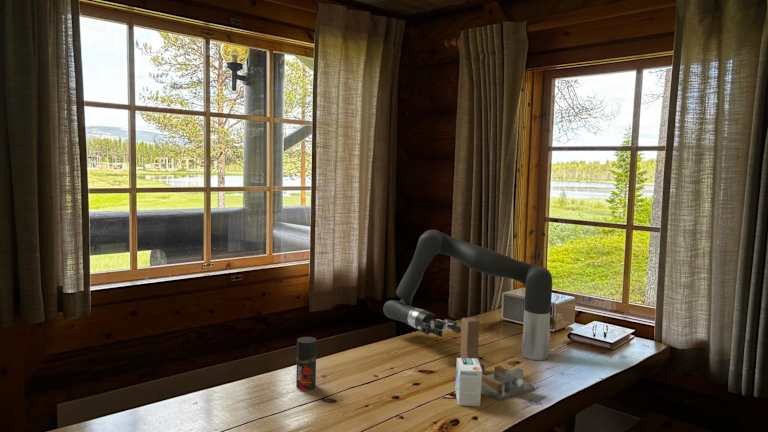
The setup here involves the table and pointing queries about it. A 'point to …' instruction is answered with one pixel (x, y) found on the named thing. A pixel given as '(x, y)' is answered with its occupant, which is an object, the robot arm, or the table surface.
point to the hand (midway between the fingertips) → (450, 331)
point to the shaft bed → (509, 384)
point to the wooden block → (470, 340)
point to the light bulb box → (468, 381)
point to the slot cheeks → (493, 383)
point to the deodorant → (306, 363)
